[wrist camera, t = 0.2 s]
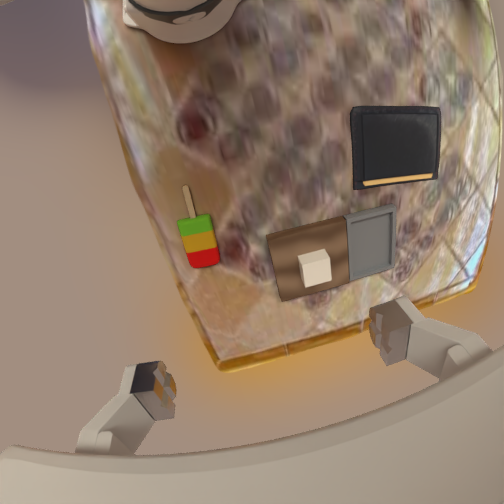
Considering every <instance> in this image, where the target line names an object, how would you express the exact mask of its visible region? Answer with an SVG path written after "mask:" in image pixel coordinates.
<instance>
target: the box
mask: <svg viewBox="0 0 504 504" xmlns="http://www.w3.org/2000/svg"><path fill="white" fill-rule="evenodd" d="M343 218H344V219H345V220H346V230H347V245H348V264H349V281H352V280H356V279H359V278H362V277H365V276H369V275H372V274H375V273H378V272H382V271H385V270H388V269H391V268H394V263H395V244H396V206H394V205H393V204H388V205H384V206H380V207H376V208H372V209H368V210H364V211H360V212H356V213H352V214H348V215H344V216H343Z"/></svg>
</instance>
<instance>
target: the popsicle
mask: <svg viewBox="0 0 504 504" xmlns="http://www.w3.org/2000/svg"><path fill="white" fill-rule="evenodd" d="M182 189H183V193H184V197H185V201H186V205H187V208H188V212H189V216H190V218H186V219H182V220H178V221H177V224H178V228H179V231H180V234H181V238H182V241H183V244H184V247H185V251H186V254H187V257H188V260H189V263H190V265H191V266H192V267H194V268H201V267H206V266H211V265H215V264H217V263H218V262H219V260H220V253H219V249H218V245H217V241H216V237H215V233H214V229H213V225H212V221H211V217H210V215H209V214H205V215H200V216H196V214H195V211H194V207H193V203H192V199H191V195H190V191H189V187H188V186H187V185H184V186H183V187H182Z"/></svg>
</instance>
